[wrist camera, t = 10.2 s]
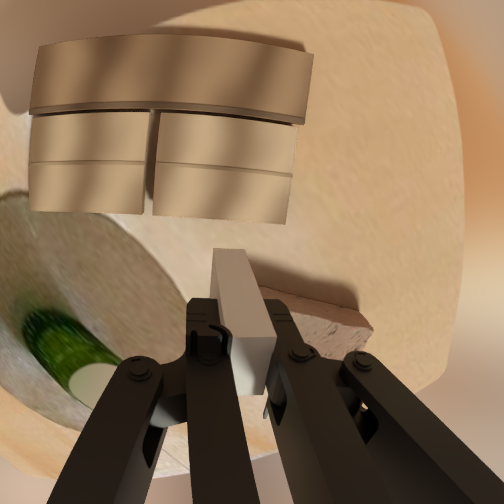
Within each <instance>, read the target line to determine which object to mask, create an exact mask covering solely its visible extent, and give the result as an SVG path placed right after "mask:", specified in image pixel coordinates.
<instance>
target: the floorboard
mask: <svg viewBox="0 0 504 504" xmlns="http://www.w3.org/2000/svg"><path fill="white" fill-rule="evenodd" d="M313 58H314V54H310V53H306V52H302V51H298V50H294V49H289V48H284V47H279V46H274V45H269V44H263V43H257V42H251V41H244V40H237V39H229V38H220V37H209V36H196V35H174V34H140V35H120V36H107V37H96V38H87V39H80V40H73V41H66V42H60V43H55V44H50V45H45V46H40V47H39V50H38V55H37V60H36V66H35V72H34V78H33V85H32V93H31V101H30V109H29V115H39V114H47V113H57V112H69V111H83V110H105V109H159V110H182V111H197V112H210V113H220V114H230V115H239V116H247V117H254V118H261V119H268V120H275V121H281V122H287V123H293V124H298V125H304V124H305V115H306V109H307V102H308V95H309V87H310V80H311V73H312V65H313Z"/></svg>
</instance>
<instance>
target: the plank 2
mask: <svg viewBox="0 0 504 504" xmlns="http://www.w3.org/2000/svg"><path fill="white" fill-rule="evenodd" d="M297 135H298V127H293V126H287V125H281V124H274V123H268V122H261V121H254V120H246V119H238V118H229V117H219V116H208V115H196V114H180V113H161V117H160V125H159V134H158V143H157V154H156V164H155V179H154V194H153V214H152V215H155V216H173V217H189V218H205V219H220V220H234V221H247V222H260V223H272V224H284V225H285V223H286V216H287V209H288V202H289V195H290V188H291V180H292V173H293V166H294V158H295V150H296V143H297Z"/></svg>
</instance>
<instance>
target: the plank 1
mask: <svg viewBox="0 0 504 504" xmlns="http://www.w3.org/2000/svg"><path fill="white" fill-rule="evenodd" d="M151 116H152V114H151V113H150V112H105V113H82V114H68V115H56V116H46V117H37V118H33V120H32V130H31V142H30V160H29V205H30V211H59V212H92V213H117V214H139V215H142V214H143V212H144V200H145V181H146V167H147V154H148V143H149V134H150V125H151Z"/></svg>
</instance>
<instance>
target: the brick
mask: <svg viewBox="0 0 504 504" xmlns="http://www.w3.org/2000/svg"><path fill="white" fill-rule="evenodd" d="M258 287H259V290H260V293H261V295H262V298H263V299H279V300H281V301H282V302H283V303H284V304H285V305H286V306H287V307H288V309H289V311H290V313H291V315H292V317H293V319H294V322H295V324H296V326H297V328H298V330H299V332H300V334H301V336H302V338H303V340H304V342H305V343H306V344H309V345H311V346H313V347H314V348H316V350H317V351H318V352H319V354H320V356H321V357H324V358H328V359H334V360H342V361H343V359H344V357H345V355H346V354H347V353H349V352H351V351H362V350H363V348H364V346H365V344H366V342H367V340H368V339H369V337H370V336H371V335H372V333H373V332H374V331H373V327H372V326H371V325H370V324H369V322H368V321H367V320H366V319H365V318H364V316H363V315H362V314H361V313H360V312H358V311H356V310H353V309H349V308H347V307H343V308H340V307H339V306H338V305H336V304H329V303H325V302H321V301H318V300H312V299H309V298H304V297H299V296H296V295H292V294H287V293H283V292H281V291H278V290H274V289H271V288H268V287H262V286H258Z"/></svg>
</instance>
